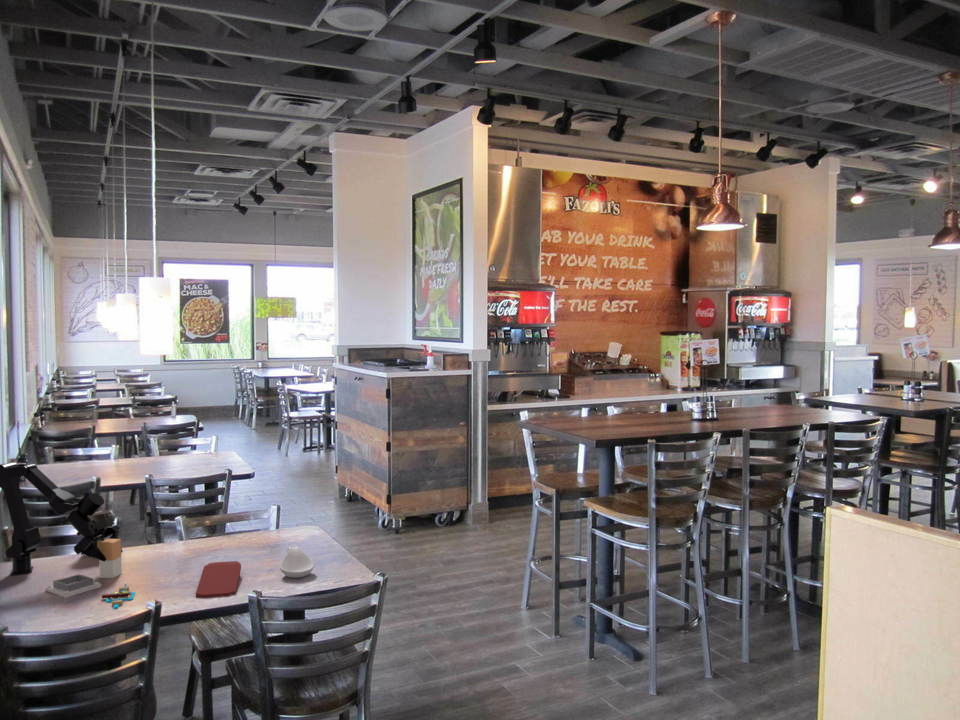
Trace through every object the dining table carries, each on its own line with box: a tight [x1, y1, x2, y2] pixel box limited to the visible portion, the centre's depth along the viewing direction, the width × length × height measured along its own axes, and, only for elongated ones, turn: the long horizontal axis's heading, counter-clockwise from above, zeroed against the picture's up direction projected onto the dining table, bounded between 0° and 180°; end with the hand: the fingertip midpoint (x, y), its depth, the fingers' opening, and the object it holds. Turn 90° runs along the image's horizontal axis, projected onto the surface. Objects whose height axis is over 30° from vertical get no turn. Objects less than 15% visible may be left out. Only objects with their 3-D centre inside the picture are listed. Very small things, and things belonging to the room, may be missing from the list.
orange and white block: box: [98, 538, 122, 579], centre depth 259 cm, size 5×5×12 cm
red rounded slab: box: [195, 560, 242, 599], centre depth 252 cm, size 12×5×26 cm
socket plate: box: [44, 573, 102, 598], centre depth 246 cm, size 12×12×3 cm
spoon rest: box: [279, 545, 315, 579], centre depth 266 cm, size 24×12×7 cm, turn 21°
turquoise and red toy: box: [101, 582, 136, 610], centre depth 238 cm, size 20×5×9 cm
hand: (113, 556), depth 259 cm, fingers open, 9 cm apart
